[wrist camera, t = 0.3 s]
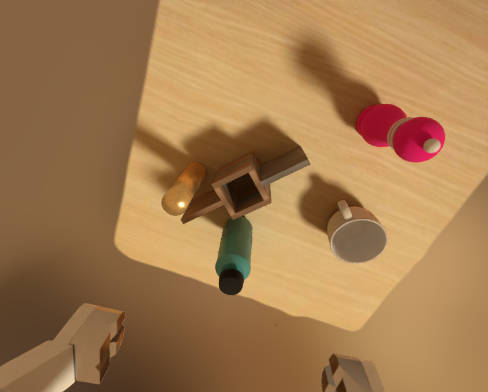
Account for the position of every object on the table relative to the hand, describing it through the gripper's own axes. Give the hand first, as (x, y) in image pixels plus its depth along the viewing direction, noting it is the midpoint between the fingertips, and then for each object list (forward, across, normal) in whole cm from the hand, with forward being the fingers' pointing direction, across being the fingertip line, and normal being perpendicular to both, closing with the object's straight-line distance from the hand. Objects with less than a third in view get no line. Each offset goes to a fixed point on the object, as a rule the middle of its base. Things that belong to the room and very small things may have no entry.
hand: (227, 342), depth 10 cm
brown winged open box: (+46, 0, +10) cm, 47 cm away
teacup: (+47, -24, +14) cm, 54 cm away
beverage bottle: (+47, -2, +21) cm, 51 cm away
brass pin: (+46, +10, +11) cm, 49 cm away
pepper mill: (+46, -22, -7) cm, 52 cm away
